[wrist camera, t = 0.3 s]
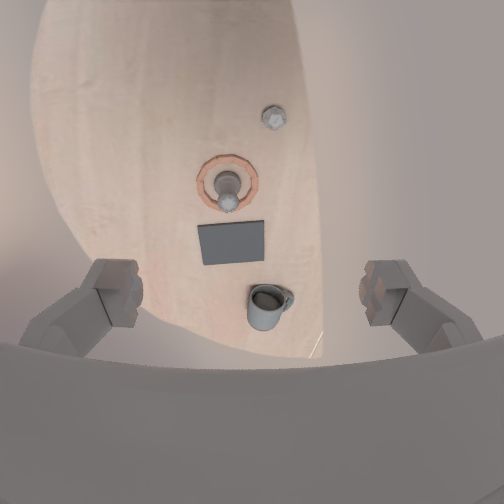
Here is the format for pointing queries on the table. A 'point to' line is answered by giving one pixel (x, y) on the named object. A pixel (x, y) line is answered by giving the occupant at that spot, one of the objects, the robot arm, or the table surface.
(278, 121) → the game die
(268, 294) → the ceramic mug
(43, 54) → the table surface
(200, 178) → the terracotta ring
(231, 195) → the rook chess piece
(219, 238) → the charcoal mat
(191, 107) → the table surface
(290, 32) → the table surface
